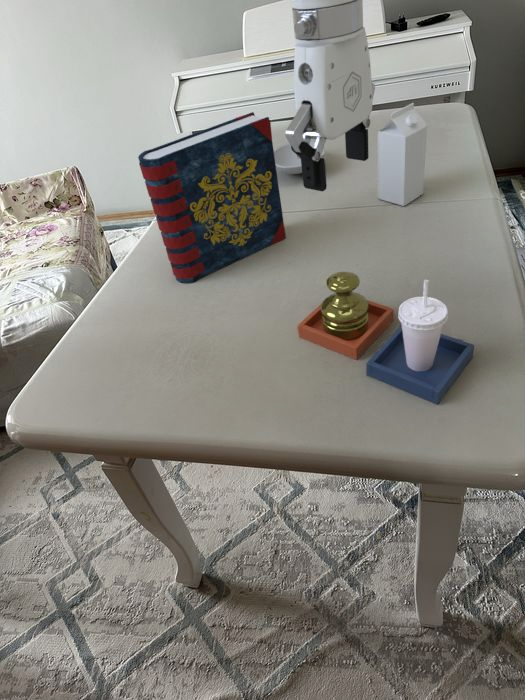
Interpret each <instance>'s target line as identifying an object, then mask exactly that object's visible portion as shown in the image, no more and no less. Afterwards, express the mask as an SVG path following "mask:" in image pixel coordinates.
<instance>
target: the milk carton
mask: <svg viewBox="0 0 525 700" xmlns="http://www.w3.org/2000/svg"><path fill="white" fill-rule="evenodd" d="M427 132H428V124H427V123H426V122H425V121H424V119H423V118H422V117H421V115H420V114H419V113H418V112H417V110H416V109H415V103H414V102H412V103H409V104H408V105H406V106H404V107H402V108H399V109H398V110H396V111H394V112H391V114H390V120H389V121H388V122H386V124H384V125H383V127H381V128H380V129H379V130H378V131H377V200H381V201H384V202H388V203H391V204H395V205H398V206H401V207H405V206H407V205H408V204H410V203H411V202H413V201H414V200H416V199H417V198H419V197H420V195H421V196H422V195H424V189H425V187H424V186H425V170H426V169H425V168H426V153H427V135H428V133H427Z"/></svg>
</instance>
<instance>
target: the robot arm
mask: <svg viewBox="0 0 525 700" xmlns="http://www.w3.org/2000/svg"><path fill="white" fill-rule="evenodd" d="M290 1H291V10H292V11H291V12H292V21H293V31H294V42H295V45H294V56H293V60H294V61H293V86H294V88H293V90H294V105H295V106H294V107H295V115H294V117H293V118H292V120H291V121H290V123H289V124H288V127H287V128H286V130H285V134H284V135H285V138H286V139H287V142H288V143H290V145H291V149H292V151H293V152H294V153H295V154H297V158H299V159H301V166H302V173H301V175H302V185H303V188H305V189H308V190H313V191H317V192H324V191H326V190H327V175H326V174H327V172H326V161H325V158H323V157H321V154H322V151H323V148H324V147H325V145H326V143H327V142H326V141H327V140H329V141H333V140H336V139H338V138H339V137H341V136H343V135H345V136H344V140H345V157H346V159H349V160H355V161H360V162H361V161H362V162H366V161H367V160H368V159H369V156H370V155H369V128H370V126H371V119H370V116H371V114H372V112H373V108H374V106H373V105H374V104H373V100H374V95H375V90H376V84H375V83H373V81H372V67H371V57H370V48H369V42H368V37H367V33H366V29H365V26H364V6H363V5H364V4H363V1H364V0H290ZM310 140H311V141H312V140H315V141H316V142H315V146H314V148H312V147H311V146H310V145H309V143H310Z"/></svg>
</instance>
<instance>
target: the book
mask: <svg viewBox="0 0 525 700" xmlns="http://www.w3.org/2000/svg"><path fill="white" fill-rule="evenodd" d="M271 123H272V122H271V119H270V117H269V116H266V117H263V118H262V117H259V116H257V115H256V114H255V112H253V111H251V112H249V113H246V114H244V115H239V116H237V117H235V118H233V119H230V120H227V121H224V122H222V123H219V124H217V125H213V126H210V127H207V128H205V129H203V130H199V131H198V132H197V131H196V132H195V133H192V134H189V135H186V136H184V137H180V138H177V139H175V140H173V141H170V142H167V143H164V144H161V145H158V146H156V147H153V148H151V149H147V150H144V151H142V152H141V153H140V154H139V155H138V156H137V158H138V161H139V168H140V171H141V174H142V175H141V176H142V177H143V179H144V184H145V188H146V191H147V194H148V197H149V198H150V204H151V206H152V210H153V213H154V215H156V216H155V219H156V224H157V227H158V230H159V231H160V234H161V239H162V242H163V246H164V247H165V251H166V254H167V258H168V261H169V262H170V266H171V270H172V275H173V276H174V277H175V279H176V281H177V282H179V283H182V284H193V283H195V282H197V281H198V280H200V279H202V278H205V277H207V276H209V275H211V274H213V273H215V272H217V271H219V270H221V269H223V268H225V267H228V266H229V265H232V264H234V263H236V262H238V261H240V260H242V259H244V258H246V257H249V256H251V255H252V254H255V253H257V252H259V251H261V250H264V249H266V248H268V247H269V246H272V245H274V244H277V243H279V242H281V241H283V240H284V239H286V238H287V237H286V236H287V235H286V229H285V222H284V215H283V208H282V202H281V194H280V186H279V180H278V173H277V167H276V164H275V157H274V143H273V133H272V124H271Z"/></svg>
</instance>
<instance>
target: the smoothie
mask: <svg viewBox="0 0 525 700" xmlns="http://www.w3.org/2000/svg"><path fill="white" fill-rule="evenodd" d="M429 282H430V281H429V279H424V280H423V293H422V296H415V297H411V298H408V299H405V301H403V302H402V303H401V304H400V305H399V307H398V312H397V313H398V315H397V318H398V321H399V322H400V324H401V325H402V331H403V339H404V347H405V354H406V362H407V366H408V367H409V368H410V369H412V370H414V371H427V370H429V369H430V368H431V367H432V366H433V362H434V358H435V354H436V351H437V347H438V343H439V339H440V335H441V334H442V332H443V328H444V325H445V323H446V322H447V321H448V317H449V315H448V313H449V310H448V307H447V305H446V304H445V303H444V302H443V301H441V300H440V299H437V298H435V297H432V296H431V297H430V296H429V295H428V294H429Z"/></svg>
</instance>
